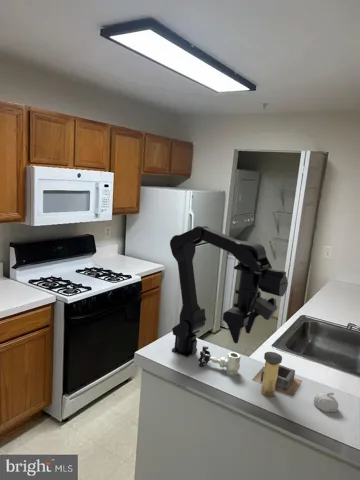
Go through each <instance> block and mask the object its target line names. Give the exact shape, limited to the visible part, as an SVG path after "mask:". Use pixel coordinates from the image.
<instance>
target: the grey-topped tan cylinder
mask: <svg viewBox="0 0 360 480" xmlns="http://www.w3.org/2000/svg"><path fill="white" fill-rule="evenodd" d="M263 355H264V356H263V358H264V360H265V361H264V367H265V368H264V375H263V382H262V384H261V388H260V389H261V390H260V391H261V392H260V393H261V394H262V396H264V397H265V398H266V397H267V398H274V397H275V394H276V382H277V375H278V369H279V365H280V364H281V363H282V362H283V361H282V360H283V357H282V355H280V354H279V353H277V352H274V351H266V352H264V354H263Z"/></svg>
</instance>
